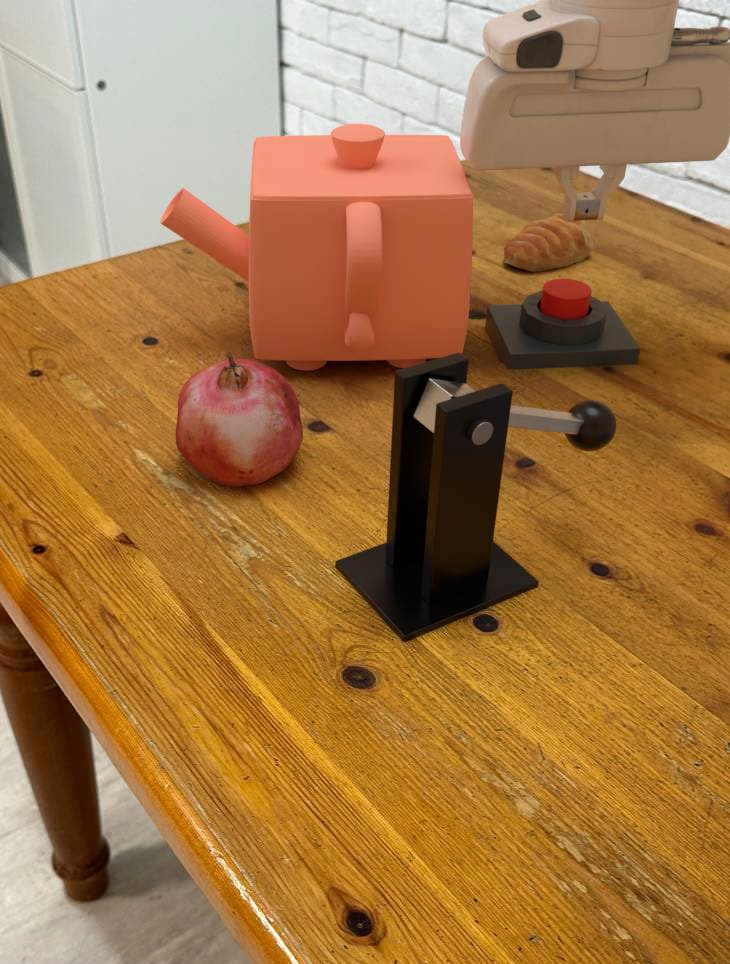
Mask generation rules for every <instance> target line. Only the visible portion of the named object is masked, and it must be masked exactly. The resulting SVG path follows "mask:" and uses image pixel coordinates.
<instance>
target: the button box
mask: <svg viewBox="0 0 730 964" xmlns="http://www.w3.org/2000/svg"><path fill="white" fill-rule="evenodd" d="M542 291H543V289H542V290H539V291H537V292H534V293H530V294H528V295H527V296H526V297H525V299H524V300H523V302H522V303H521V304H498V305H497V304H496V305H495V304H494V305H493V304H492V305H487V307H486V314H485V315H486V316H485V326H484V329H485V331H486V332H487V335H488V337H489V339H490V341H491V343H492V346H493V348H494V350H495V352H496V354H497V357H498V360H499V362H500V363H501V364H502V363H504V364H505V367H506V369H507V370H508V371H512V370H515V371H516V370H535V369H536V370H537V369H539V370H541V369H560V368H561V369H562V368H587V367H588V368H589V367H608V366H609V367H611V366H613V367H614V366H635V365H638V362H639V359H640V353H641V347H640V346H639V344H638V343H637V341H636V340H635V338H634V337H633V336H632V334H631V333H630V331H629V330H628V328H627V327H626V325H625V324H624V322H623V321H622V319H621V318H620V316H619V315H618V314H617V312H616V310H615V309H614V307H613V306H612V305H611V303H610V301H608V300H607V301H606V300H605V301H604V300H603V301H602V300H600V299H599V298H596V297H594V296H592V295H591V298H590V304H589V310H588V314H587V316H586V317H583V318H581V319H566V320H564V319H559V318H554V317H550V316H548V315H546V314H544V313H542V312H541V311H540V306H541V298H542Z"/></svg>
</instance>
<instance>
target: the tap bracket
mask: <svg viewBox="0 0 730 964" xmlns="http://www.w3.org/2000/svg"><path fill="white" fill-rule="evenodd" d="M469 361H470V360H469V358H468V357H466V356H465V355H463V353H462V354H460V353H455V354H452V355H448V356H445V357H441V358H434V359H432V360H428V361H425V362H424V363H421V364H417V365H414V366H411V367H407V368H400V369H397V370H395V371H394V384H393V402H392V403H393V404H392V421H391V422H392V423H391V443H390V463H389V481H388V502H387V503H388V504H387V522H386V541H385V542H383V543H381V544H378V545H376V546H373V547H370V548H367V549H364V550H362V551H359V552H357V553H353V554H351V555H347V556H345V557H343V558H340V559H338V560H335V562H334V567H335V568H336V569H337V571H338V572H339V573H340V574H341V575H342V577H344V579H346V581H347V582H348V583H349V584H350V585H351V586H352V588H353V589H355V590H356V592H357V593H358V594H359V595H360V596H361V597H362V598H363V600H365V601H366V603H367V604H368V605H369V606H370V608H372V610H374V611H375V613H377V615H378V616H379V617H380V618H381V619H382V620H383V621H384V622H385V623H386V624H387V626H388V627H389V628H390V629H391V630H392V631H393V632H394V633H395V634H396V635H397V636H398V638H399V639H400V640H401V641H402V642H403V643H407V642H409V641H411V640H414V639H416V638H418V637H421V636H423V635H425V634H428V633H431V632H433V631H435V630H438V629H440V628H442V627H445V626H447V625H449V624H452V623H454V622H457V621H459V620H461V619H464V618H466V617H469V616H471V615H473V614H477V613H479V612H482V611H483V610H486V609H488V608H491V607H493V606H496V605H498V604H501V603H504V602H505V601H507V600H510V599H513V598H515V597H517V596H520V595H522V594H524V593H527V592H529V591H531V590H534V589H536V588H538V587H539V580H538V579H537V577H534V576H533V575H532V574H531V573H530V572H529V570H527V569H525V568H524V566H522V565H521V564H520V563H519V562H518V561H516V559H515V558H513V556H511V555H510V554H509V553H508V552H507V551H505V550H504V549H503V548H502V547H501V546H500V545H498V544H497V543H496V542H495V541H494V537H495V536H494V535H495V529H496V521H497V516H498V515H497V513H498V507H499V499H500V492H501V491H500V490H501V484H502V478H503V477H502V476H503V470H504V463H505V461H504V460H505V453H506V447H507V446H506V445H507V437H508V430H509V427H508V424H509V416H510V409H511V405H512V401H513V394H514V393H513V392H514V391H513V389H511V388H510V387H508V386H507V385H505V384H504V383H503V382H502V383H501V382H500V383H498V384H494V385H492V386H488V387H485V388H481V389H478V390H475V392H472V393H469V394H465V395H462V396H459V397H456V398H453V399H449V400H446V401H443V402H440V403H437V404H436V414H435V427H434V433H433V432H431V431H430V430H429V429H428V428H427V427H425V426H424V425H423V424H422V423H420V422H419V421H418V420H417V419H416V418H414V414H415V411H416V409H417V406H418V404H419V402H420V399H421V397H422V394H423V392H424V390H425V387H426V385H427V382H428V380H429V378H431V379H438V380H445V381H452V382H459V383H465V384H467V381H468V369H469Z"/></svg>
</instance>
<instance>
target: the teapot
mask: <svg viewBox="0 0 730 964" xmlns="http://www.w3.org/2000/svg"><path fill="white" fill-rule="evenodd" d="M251 157H252V158H251V172H250V173H251V174H250V190H249V192H250V194H249V218H248V219H249V221H248V226H249V227H248V234H247V233H246V232H244V231H243V230H242V229H241V228H239V227H238V226H236V225H235V224H234V223H232V222H231V221H230V220H228V219H226V218H225V217H224V216H222V214H220V213H219V212H217V211H216V210H215V209H213V208H211V207H210V206H209V205H208V204H207V203H205V202H203V201H202V200H201V199H199V198H198V197H197V196H195V195H194V194H192V193H191V191H189V190H187V189H186V188H184V187H182V188H181V189H179V191H178V192H177V193H176V194H175V195H174V197H172V199H171V200H170V202H169V203H168V205H167V206H166V209H165V210H164V212H163V213H162V216H161V217H160V221H159V223H160V224H161V225H162V226H164V227H165V228H167V230H170V231H171V232H172V233H174V234H176V235H177V236H179V237H180V238H181V239H183V240H185V241H186V242H188V243H189V244H191V245H192V246H194V247H195V248H197V249H198V250H200V251H201V252H203V253H204V254H206V255H207V256H209V257H210V258H212V259H213V260H215V261H217V262H218V263H220V264H221V265H222V266H224V267H225V268H227V269H229V271H231V272H233V273H234V274H236V275H237V276H238V277H240V278H242V279H243V280H244V281H246V282H248V312H249V328H250V329H249V330H250V338H251V343H252V350H253V356H254V359H255V360H260V361H261V360H262V361H285V362H286V364H287V365H288V367H290V368H292V369H295V370H298V371H314V370H318V369H321V368H322V367H324V366H325V365H326V364H327V363H328V361H329V362H330V361H338V362H340V361H343V362H345V361H351V362H352V361H384V360H385V362H387V363H388V364H389V365H390V366H393V367H396V368H400V369H404V368H407V367H411V366H414V365H417V364H421V363H424V362H427V359H438V358H441V357H445V356H448V355H452V354H455V353H460V354H462V355H463V354H464V348H465V343H466V338H467V333H468V328H469V327H468V326H469V316H470V306H471V305H470V304H471V290H472V275H473V273H472V271H473V246H474V245H473V243H474V242H473V239H474V238H473V237H474V236H473V235H474V194H473V191H472V188H471V185H470V183H469V180H468V177H467V175H466V171H465V170H464V167H463V164H462V162H461V159H460V157H459V154H458V152H457V150H456V148H455V145H454V143H453V141H452V139H451V138H450V136H449V135H444V134H386V132H385V131H384V130H383V129H382V128H380V127H378V126H376V125H372V124H368V123H367V124H366V123H349V124H348V123H347V124H343V125H342V124H341V125H340V126H337V127H335V128H333V129H331V131H330V134H323V135H322V134H319V135H318V134H317V135H316V134H314V135H313V134H312V135H311V134H310V135H309V134H308V135H277V136H276V135H273V136H271V135H270V136H256V137H255V139H254V140H253V146H252V156H251Z"/></svg>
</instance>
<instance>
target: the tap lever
mask: <svg viewBox="0 0 730 964" xmlns="http://www.w3.org/2000/svg"><path fill="white" fill-rule="evenodd" d="M475 391H476V390H475V389H473V388H472V387H471V386H469V385H468V384H467V383H466V384H465V383H459V382H452V381H445V380H438V379H431V378H429V380H428V382H427V385H426V387H425V390H424V392H423V394H422V397H421V399H420V402H419V404H418V406H417V409H416V411H415V414H414V418H416V419H417V420H418V421H419V422H420V423H422V424H423V425H424V426H425V427H427V428H428V429H429V430H430V431H431V432H433V433H434V427H435V414H436V404H437V403H440V402H443V401H446V400H449V399H453V398H456V397H459V396H462V395H465V394H469V393H472V392H475ZM508 428H515V429H523V430H532V431H539V432H540V431H541V432H548V433H549V432H550V433H559V434H564V435H565V437H566V440H567V441H568V442H569V444H571V446H573V447H574V448H575V449H577V450H579V451H583V452H595V451H596V452H597V451H599V450H602V449H603V448H606V447H607V446H608V445H609V444H610V443H611V442H612V441H613V439H614V437H615V434H616V433H617V419H616V416H615V413H614V411H613V410H612V409H611V408H610V407H609V406H608V405H607V404H606V403H604V402H602V401H599V400H596V399H587V400H583V401H580V402H577V403H576V404H574V405H573V406H572V407H571V408H570V409H569V410H568V411H567V412H566V411H559V410H551V409H545V408H544V409H543V408H537V407H536V408H535V407H529V406H520V405H514V404H511V409H510V416H509V424H508Z"/></svg>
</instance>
